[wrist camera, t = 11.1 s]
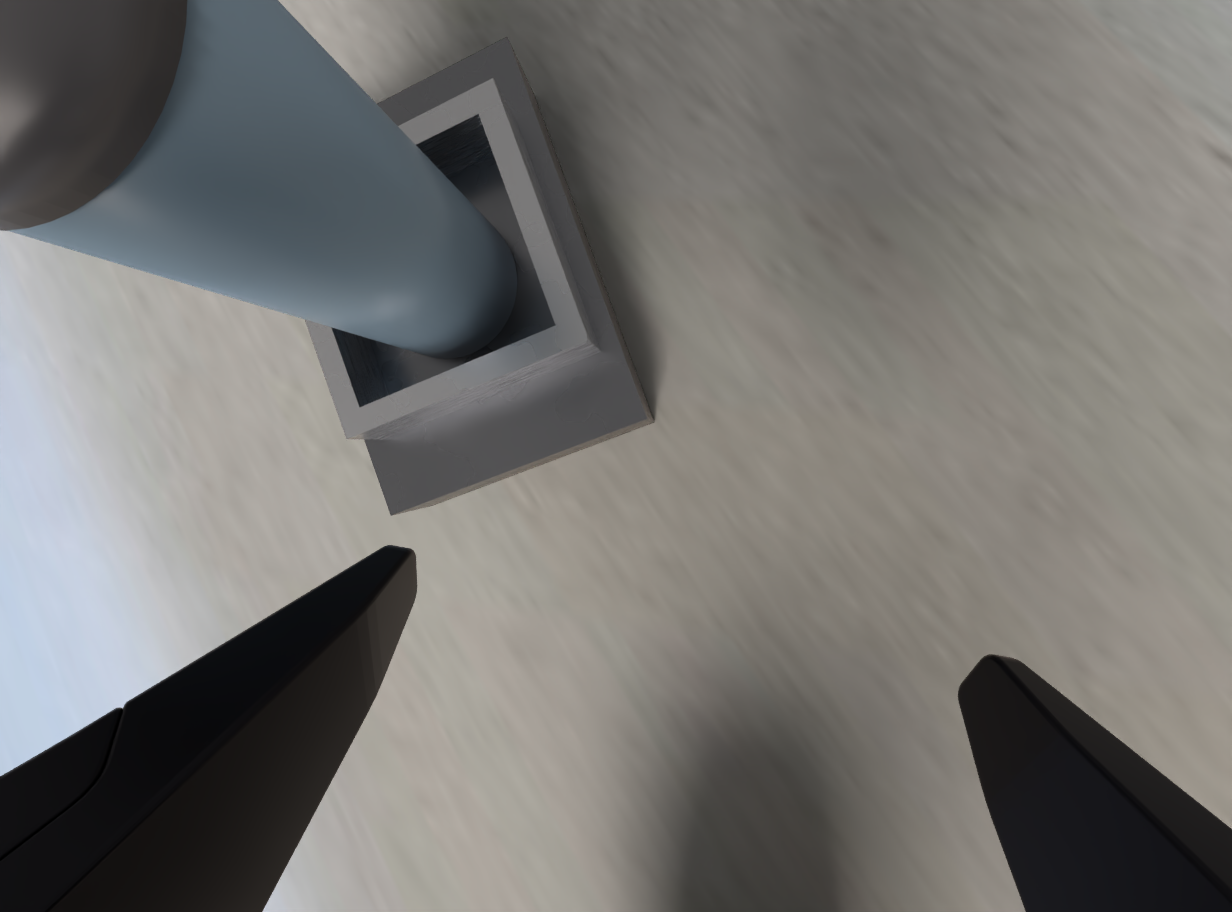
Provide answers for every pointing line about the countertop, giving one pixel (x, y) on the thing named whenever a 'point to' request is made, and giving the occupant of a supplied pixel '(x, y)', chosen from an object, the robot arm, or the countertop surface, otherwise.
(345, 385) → the gray rectangular open-top holder
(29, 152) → the capped blue cylinder
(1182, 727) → the countertop surface
